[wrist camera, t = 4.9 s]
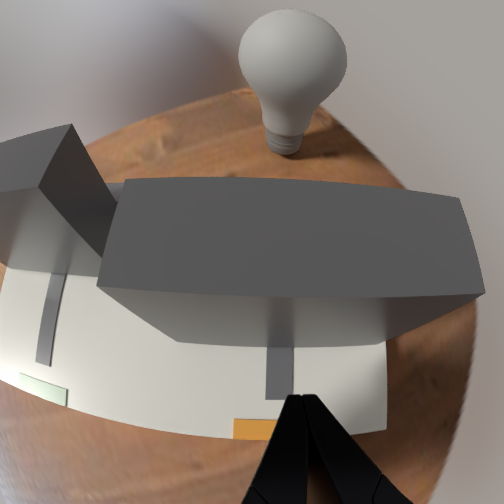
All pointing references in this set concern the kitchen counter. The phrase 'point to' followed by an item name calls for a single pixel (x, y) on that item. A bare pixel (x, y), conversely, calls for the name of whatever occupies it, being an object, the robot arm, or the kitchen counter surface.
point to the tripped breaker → (286, 260)
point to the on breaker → (52, 204)
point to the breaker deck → (170, 365)
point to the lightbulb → (291, 71)
